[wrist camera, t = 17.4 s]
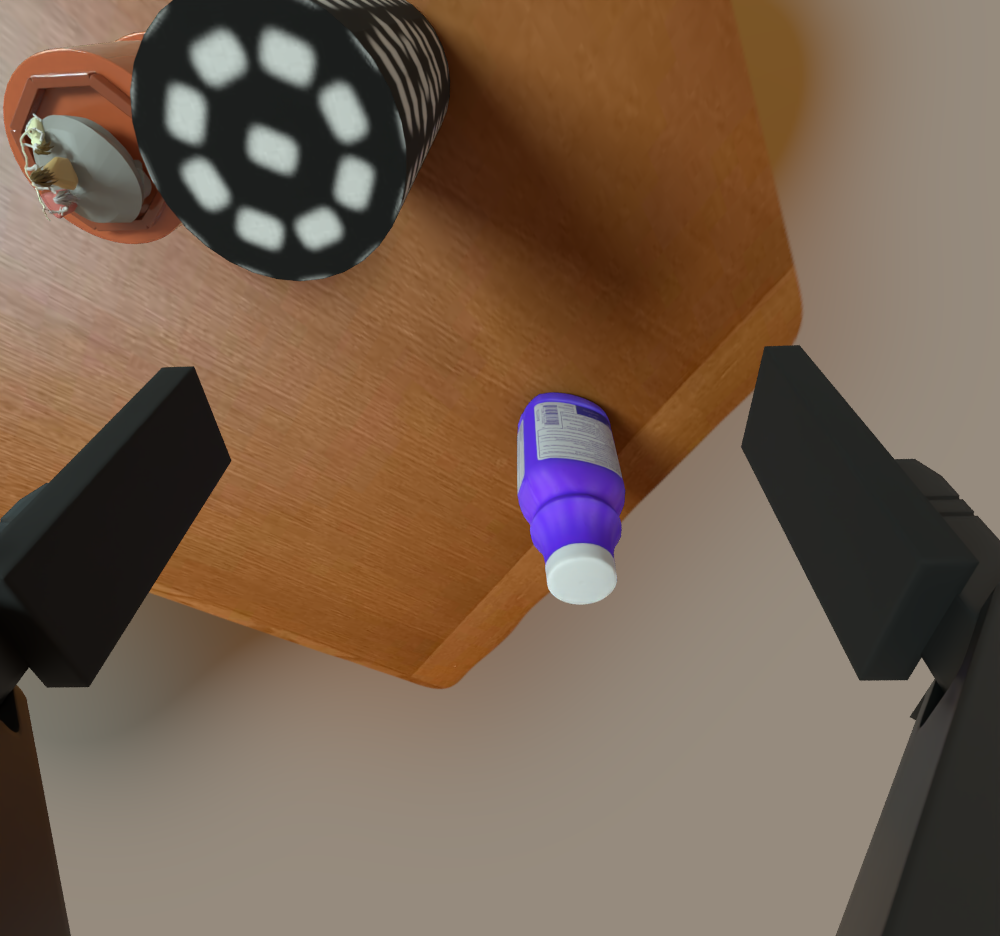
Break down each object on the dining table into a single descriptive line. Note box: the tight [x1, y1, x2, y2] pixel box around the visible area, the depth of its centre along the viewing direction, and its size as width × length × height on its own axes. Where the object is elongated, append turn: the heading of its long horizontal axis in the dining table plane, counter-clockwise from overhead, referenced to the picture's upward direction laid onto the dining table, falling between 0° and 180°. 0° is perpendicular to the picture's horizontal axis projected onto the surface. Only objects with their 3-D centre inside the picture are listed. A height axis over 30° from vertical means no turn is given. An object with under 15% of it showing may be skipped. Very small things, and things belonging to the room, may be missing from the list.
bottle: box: [517, 393, 625, 604], centre depth 42 cm, size 7×6×17 cm
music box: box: [3, 31, 182, 244], centre depth 32 cm, size 9×9×10 cm
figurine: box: [20, 114, 152, 223], centre depth 27 cm, size 5×4×6 cm
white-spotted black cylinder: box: [130, 0, 450, 281], centre depth 27 cm, size 8×8×20 cm
